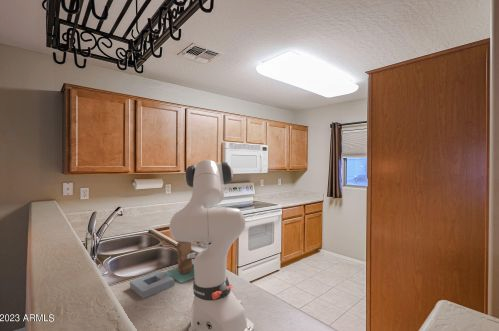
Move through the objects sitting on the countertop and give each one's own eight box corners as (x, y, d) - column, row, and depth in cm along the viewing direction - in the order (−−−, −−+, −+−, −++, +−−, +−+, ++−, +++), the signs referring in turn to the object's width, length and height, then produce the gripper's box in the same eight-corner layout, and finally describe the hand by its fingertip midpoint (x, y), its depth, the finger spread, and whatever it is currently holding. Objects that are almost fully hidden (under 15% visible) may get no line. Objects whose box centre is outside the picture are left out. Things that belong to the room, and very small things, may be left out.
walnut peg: (192, 270, 121) (190, 242, 121) (183, 273, 117) (182, 245, 117) (186, 267, 124) (185, 240, 124) (178, 271, 121) (176, 243, 121)
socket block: (174, 285, 109) (174, 278, 109) (143, 299, 98) (142, 291, 98) (159, 276, 118) (159, 270, 118) (130, 288, 108) (129, 281, 108)
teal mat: (206, 272, 120) (206, 271, 120) (181, 283, 110) (181, 282, 110) (188, 264, 131) (188, 263, 131) (164, 273, 121) (164, 273, 121)
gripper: (194, 238, 137) (172, 245, 127) (216, 245, 123) (194, 253, 113) (194, 249, 137) (172, 256, 127) (217, 257, 123) (194, 266, 113)
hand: (182, 255), depth 120 cm, fingers closed on walnut peg, 5 cm apart
